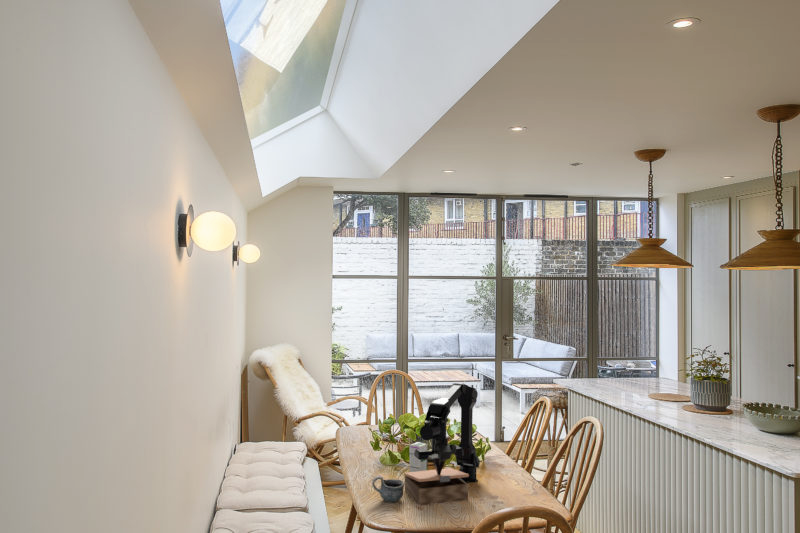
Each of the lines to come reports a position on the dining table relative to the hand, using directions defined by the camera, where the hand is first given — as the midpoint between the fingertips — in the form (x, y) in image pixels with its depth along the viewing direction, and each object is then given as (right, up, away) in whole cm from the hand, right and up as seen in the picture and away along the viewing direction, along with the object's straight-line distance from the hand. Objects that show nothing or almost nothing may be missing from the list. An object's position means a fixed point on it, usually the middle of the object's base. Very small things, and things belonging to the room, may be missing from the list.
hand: (438, 474), depth 241 cm
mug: (-20, -9, -4) cm, 22 cm away
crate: (-1, -9, +3) cm, 10 cm away
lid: (-1, -2, +2) cm, 3 cm away
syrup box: (-7, -10, +25) cm, 28 cm away
